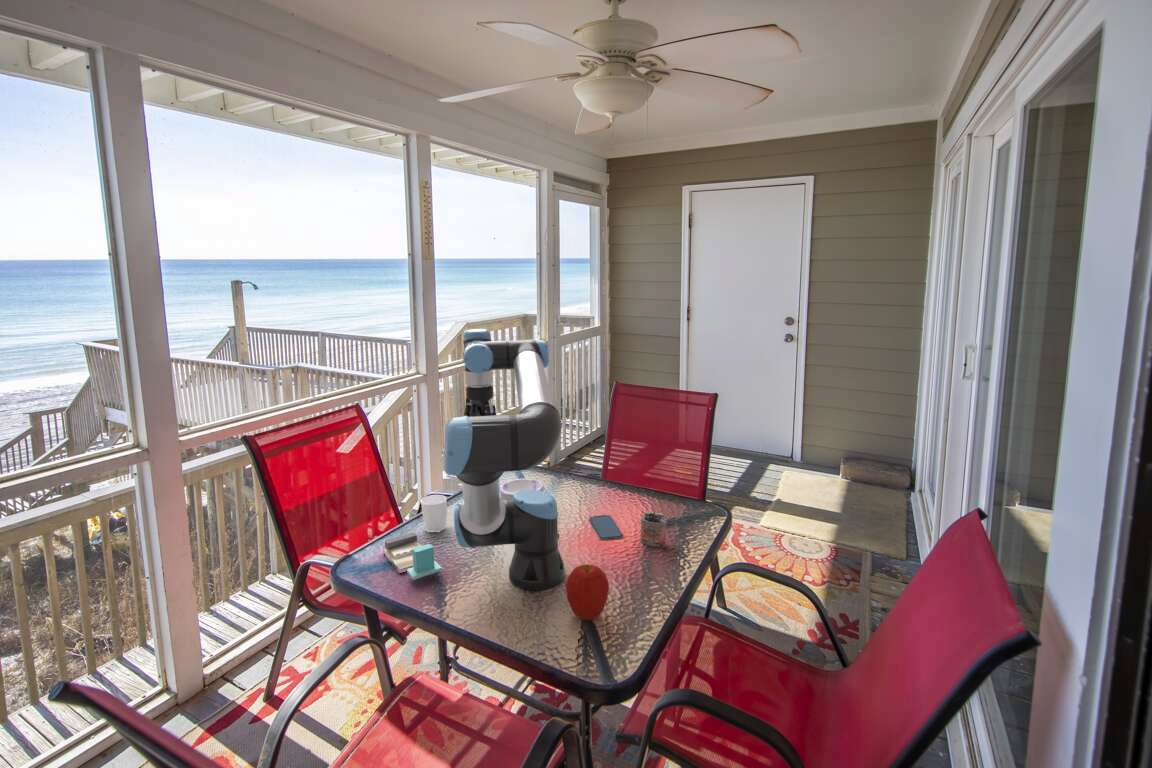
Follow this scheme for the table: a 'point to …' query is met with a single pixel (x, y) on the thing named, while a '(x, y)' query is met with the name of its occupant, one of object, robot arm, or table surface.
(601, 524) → the smartphone
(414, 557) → the teal upright sign stand
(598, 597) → the apple
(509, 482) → the paper bowls
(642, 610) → the table surface
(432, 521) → the white cup
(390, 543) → the ticket holder
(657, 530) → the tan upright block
